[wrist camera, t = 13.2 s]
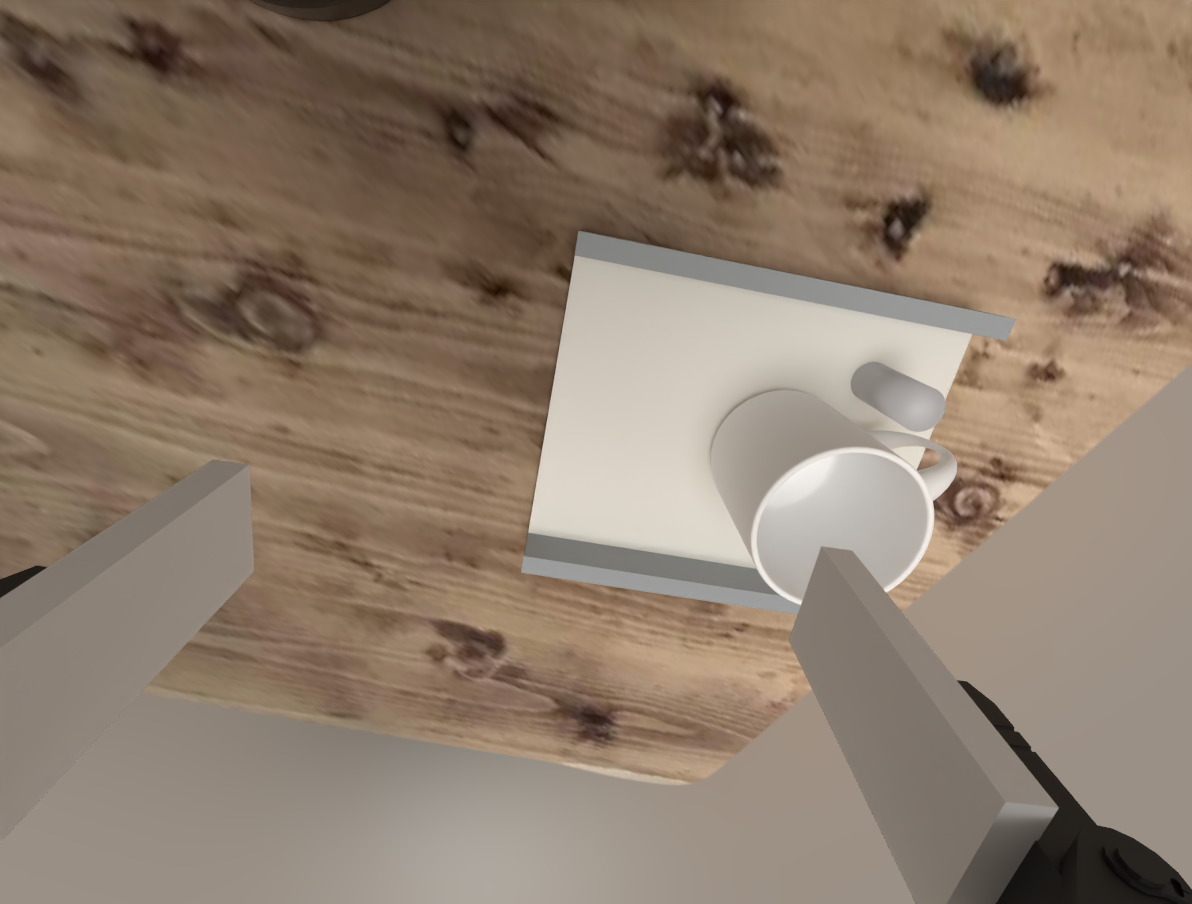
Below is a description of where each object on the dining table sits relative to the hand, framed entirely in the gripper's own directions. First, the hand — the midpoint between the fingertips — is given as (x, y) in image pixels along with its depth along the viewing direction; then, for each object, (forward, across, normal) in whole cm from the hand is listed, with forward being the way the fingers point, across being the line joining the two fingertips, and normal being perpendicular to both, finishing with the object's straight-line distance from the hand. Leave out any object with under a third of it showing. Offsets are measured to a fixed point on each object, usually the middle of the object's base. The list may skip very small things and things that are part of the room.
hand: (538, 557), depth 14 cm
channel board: (+24, +12, -4) cm, 27 cm away
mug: (+23, +16, -4) cm, 28 cm away
